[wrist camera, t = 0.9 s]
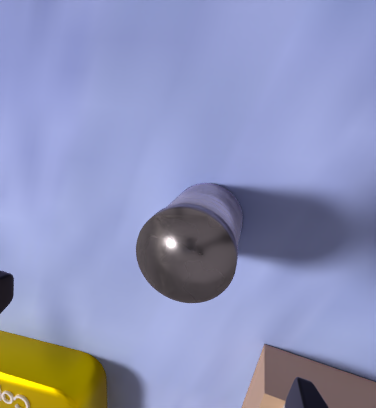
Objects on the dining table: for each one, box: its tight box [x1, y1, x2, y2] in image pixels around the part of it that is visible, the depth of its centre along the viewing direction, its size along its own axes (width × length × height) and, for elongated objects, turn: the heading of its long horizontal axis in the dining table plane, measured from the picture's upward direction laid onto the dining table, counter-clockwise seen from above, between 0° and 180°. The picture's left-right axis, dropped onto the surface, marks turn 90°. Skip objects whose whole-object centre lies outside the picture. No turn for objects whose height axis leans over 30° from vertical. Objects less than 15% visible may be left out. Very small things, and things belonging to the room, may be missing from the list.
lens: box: [136, 183, 243, 303], centre depth 17 cm, size 5×5×6 cm
